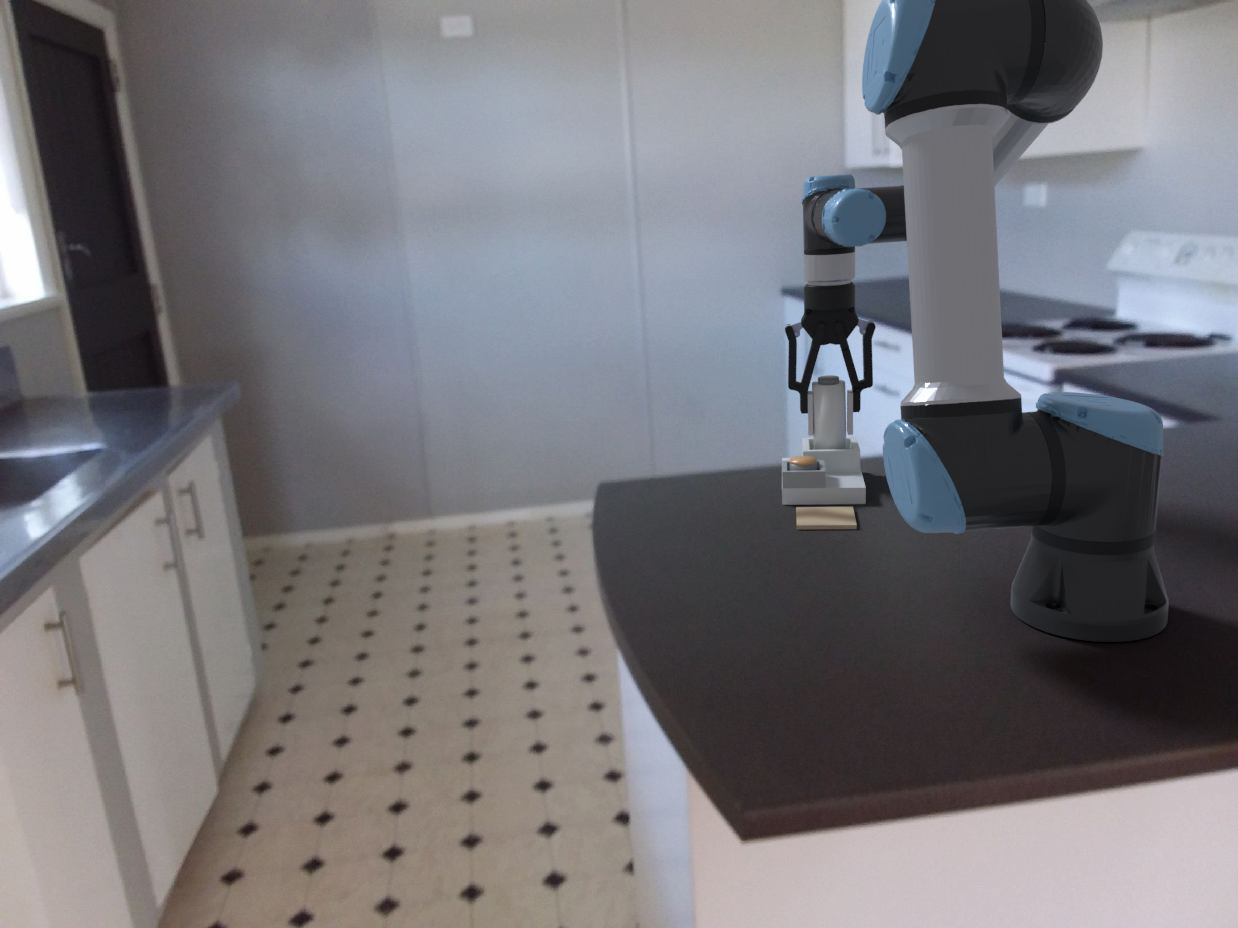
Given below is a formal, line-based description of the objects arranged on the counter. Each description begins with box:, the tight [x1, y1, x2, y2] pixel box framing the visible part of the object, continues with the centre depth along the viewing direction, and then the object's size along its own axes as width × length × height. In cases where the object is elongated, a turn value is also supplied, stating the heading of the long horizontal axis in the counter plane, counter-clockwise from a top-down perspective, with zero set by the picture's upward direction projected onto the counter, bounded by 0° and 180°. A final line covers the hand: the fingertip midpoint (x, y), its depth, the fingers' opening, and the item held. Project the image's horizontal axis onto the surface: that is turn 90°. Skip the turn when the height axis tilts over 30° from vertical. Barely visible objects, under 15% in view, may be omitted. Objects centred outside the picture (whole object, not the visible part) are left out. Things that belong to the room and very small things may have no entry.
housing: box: [781, 436, 867, 506], centre depth 154 cm, size 17×12×6 cm
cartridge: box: [811, 374, 847, 450], centre depth 156 cm, size 5×5×14 cm
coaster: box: [795, 506, 858, 531], centre depth 140 cm, size 8×8×1 cm
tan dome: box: [789, 455, 817, 471], centre depth 150 cm, size 4×4×3 cm
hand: (830, 432), depth 156 cm, fingers open, 5 cm apart
